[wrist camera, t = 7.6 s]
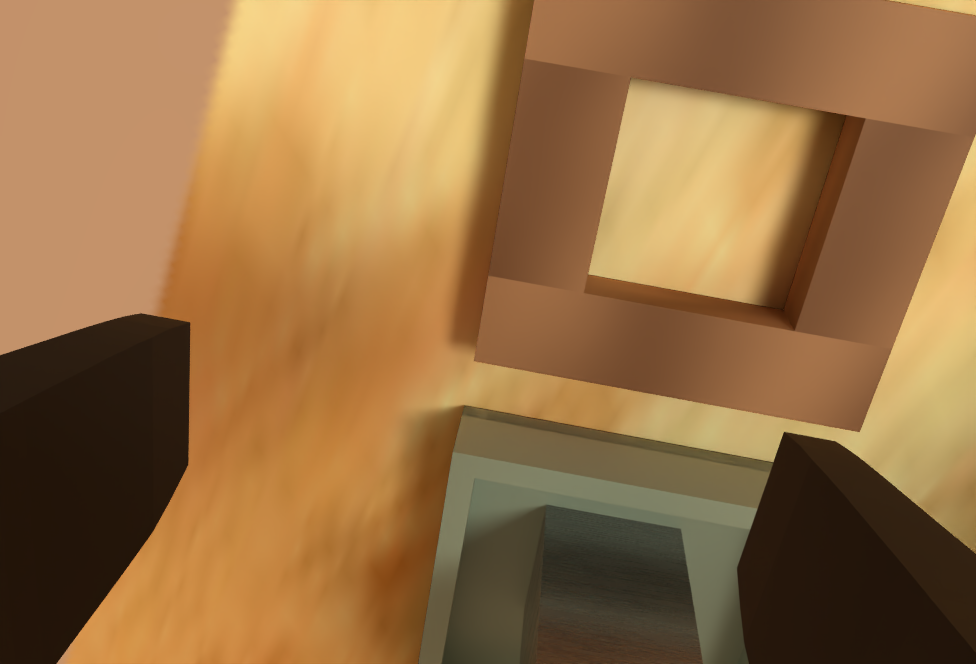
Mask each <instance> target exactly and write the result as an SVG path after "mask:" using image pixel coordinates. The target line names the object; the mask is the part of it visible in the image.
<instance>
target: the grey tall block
mask: <svg viewBox="0 0 976 664" xmlns="http://www.w3.org/2000/svg"><path fill="white" fill-rule="evenodd" d="M519 664H703V660H702V654H701V648H700V641H699V635H698V629H697V623H696V617H695V611H694V605H693V599H692V593H691V587H690V581H689V575H688V569H687V563H686V556H685V550H684V544H683V538H682V532H681V529H679V528H674V527H668V526H662V525H657V524H651V523H646V522H640V521H635V520H629V519H624V518H618V517H613V516H607V515H602V514H596V513H590V512H585V511H579V510H574V509H568V508H563V507H557V506H552V505H546V509H545V513H544V518H543V523H542V527H541V532H540V537H539V541H538V546H537V551H536V556H535V560H534V565H533V570H532V574H531V579H530V584H529V589H528V593H527V598H526V603H525V607H524V617H523V629H522V640H521V652H520V663H519Z"/></svg>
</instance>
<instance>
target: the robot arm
mask: <svg viewBox="0 0 976 664" xmlns="http://www.w3.org/2000/svg"><path fill="white" fill-rule="evenodd" d="M189 375H190V322H185V321H179V320H174V319H169V318H163V317H158V316H152V315H147V314H142V313H141V314H135V315H130V316H125V317H121V318H117V319H114V320H110V321H106V322H103V323H99V324H96V325H93V326H89V327H86V328H83V329H80V330H77V331H74V332H70V333H68V334H64V335H61V336H58V337H55V338H52V339H49V340H46V341H43V342H40V343H37V344H34V345H31V346H27V347H24V348H21V349H19V350H15V351H13V352H9V353H6V354H3V355H0V664H56V663H57V662H58V661H59V659H60V658H61V657H62V655H63V654H64V653H65V651H66V650H67V649H68V647H69V646H70V644H71V643H72V642H73V640H74V639H75V638H76V636H77V635H78V634H79V632H80V631H81V630H82V628H83V627H84V625H85V624H86V623H87V621H88V620H89V619H90V617H91V616H92V615H93V613H94V612H95V611H96V609H97V608H98V607H99V605H100V604H101V602H102V601H103V600H104V598H105V597H106V596H107V594H108V593H109V592H110V590H111V589H112V588H113V586H114V585H115V584H116V582H117V581H118V579H119V578H120V577H121V575H122V574H123V573H124V571H125V570H126V568H127V567H128V566H129V564H130V563H131V561H132V560H133V559H134V557H135V556H136V555H137V553H138V552H139V550H140V549H141V548H142V546H143V545H144V543H145V542H146V541H147V539H148V538H149V536H150V535H151V533H152V532H153V531H154V529H155V527H156V525H157V523H158V522H159V520H160V518H161V516H162V514H163V512H164V511H165V509H166V507H167V505H168V503H169V502H170V500H171V498H172V496H173V494H174V492H175V490H176V488H177V486H178V484H179V482H180V480H181V478H182V476H183V474H184V472H185V470H186V468H187V466H188V449H189ZM737 576H738V588H739V600H740V611H741V620H742V629H743V637H744V645H745V649H746V653H747V658H748V662H749V664H976V554H975V553H974V552H973V551H972V550H970V549H969V548H968V547H967V546H966V545H964V544H963V543H962V542H961V541H959V540H958V539H957V538H956V537H954V536H953V535H952V534H951V533H950V532H948V531H947V530H946V529H945V528H944V527H942V526H941V525H940V524H939V523H938V522H936V521H935V520H934V519H933V518H932V517H930V516H929V515H928V514H927V513H926V512H924V511H923V510H922V509H921V508H920V507H918V506H917V505H916V504H915V503H914V502H912V501H911V500H910V499H909V498H908V497H906V496H905V495H904V494H903V493H902V492H901V491H899V490H898V489H897V488H896V487H895V486H893V485H892V484H891V483H890V482H889V481H887V480H886V479H885V478H884V477H883V476H881V475H880V474H879V473H878V472H876V471H875V470H874V469H873V468H871V467H870V466H869V465H868V464H867V463H865V462H864V461H863V460H861V459H860V458H859V457H858V456H856V455H855V454H854V453H852V452H851V451H849V450H848V449H847V448H845V447H843V446H842V445H840V444H839V443H837V442H836V441H830V440H825V439H820V438H814V437H809V436H803V435H798V434H792V433H787V432H784V434H783V437H782V439H781V442H780V445H779V448H778V451H777V454H776V457H775V460H774V462H773V465H772V468H771V471H770V474H769V477H768V480H767V483H766V486H765V488H764V491H763V494H762V497H761V500H760V503H759V506H758V509H757V511H756V514H755V517H754V520H753V523H752V526H751V529H750V532H749V534H748V537H747V540H746V543H745V546H744V549H743V552H742V555H741V558H740V560H739V563H738V566H737Z"/></svg>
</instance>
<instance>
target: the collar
mask: <svg viewBox="0 0 976 664" xmlns="http://www.w3.org/2000/svg"><path fill="white" fill-rule="evenodd" d="M631 77H633V78H638V79H644V80H650V81H655V82H661V83H667V84H672V85H678V86H684V87H690V88H695V89H701V90H707V91H712V92H718V93H724V94H729V95H735V96H741V97H747V98H752V99H758V100H764V101H769V102H775V103H781V104H786V105H792V106H798V107H804V108H809V109H815V110H821V111H826V112H832V113H838V114H844V115H847V116H846V119H845V122H844V125H843V128H842V131H841V134H840V138H839V141H838V144H837V147H836V150H835V153H834V156H833V159H832V162H831V165H830V168H829V171H828V174H827V178H826V181H825V184H824V187H823V190H822V193H821V196H820V199H819V202H818V205H817V208H816V211H815V215H814V218H813V221H812V224H811V227H810V230H809V233H808V236H807V239H806V242H805V245H804V248H803V251H802V255H801V258H800V261H799V264H798V267H797V270H796V273H795V276H794V279H793V282H792V285H791V288H790V292H789V295H788V298H787V301H786V304H785V307H784V310H780V309H774V308H769V307H763V306H757V305H752V304H746V303H741V302H735V301H730V300H724V299H719V298H713V297H708V296H702V295H697V294H691V293H686V292H680V291H675V290H669V289H664V288H658V287H653V286H647V285H641V284H636V283H630V282H625V281H619V280H614V279H608V278H603V277H597V276H592V275H588V272H589V267H590V263H591V258H592V253H593V249H594V244H595V240H596V235H597V230H598V226H599V221H600V217H601V212H602V208H603V203H604V198H605V194H606V189H607V185H608V180H609V175H610V171H611V166H612V162H613V157H614V152H615V148H616V143H617V139H618V134H619V130H620V125H621V120H622V116H623V111H624V107H625V102H626V97H627V93H628V88H629V84H630V79H631ZM975 134H976V15H970V14H964V13H959V12H953V11H947V10H941V9H935V8H930V7H924V6H918V5H912V4H906V3H901V2H895V1H889V0H534V4H533V10H532V16H531V22H530V28H529V34H528V40H527V46H526V52H525V58H524V64H523V70H522V76H521V82H520V88H519V94H518V100H517V106H516V112H515V118H514V124H513V130H512V136H511V142H510V148H509V154H508V160H507V166H506V172H505V178H504V184H503V190H502V196H501V202H500V208H499V214H498V220H497V226H496V232H495V238H494V244H493V250H492V256H491V262H490V268H489V274H488V280H487V286H486V292H485V298H484V304H483V310H482V316H481V322H480V328H479V334H478V340H477V346H476V352H475V358H474V361H476V362H482V363H487V364H492V365H498V366H503V367H509V368H514V369H520V370H525V371H530V372H536V373H541V374H547V375H552V376H558V377H563V378H569V379H574V380H579V381H585V382H590V383H596V384H601V385H607V386H612V387H617V388H623V389H628V390H634V391H639V392H645V393H650V394H656V395H661V396H666V397H672V398H677V399H683V400H688V401H694V402H699V403H704V404H710V405H715V406H721V407H726V408H732V409H737V410H742V411H748V412H753V413H759V414H764V415H770V416H775V417H781V418H786V419H791V420H797V421H802V422H808V423H813V424H819V425H824V426H829V427H835V428H840V429H846V430H851V431H857V432H860V430H861V427H862V425H863V422H864V419H865V417H866V414H867V412H868V409H869V407H870V404H871V401H872V399H873V396H874V394H875V391H876V389H877V386H878V383H879V381H880V378H881V376H882V373H883V371H884V368H885V365H886V363H887V360H888V358H889V355H890V353H891V350H892V348H893V345H894V342H895V340H896V337H897V335H898V332H899V330H900V327H901V324H902V322H903V319H904V317H905V314H906V312H907V309H908V306H909V304H910V301H911V299H912V296H913V294H914V291H915V288H916V286H917V283H918V281H919V278H920V276H921V273H922V270H923V268H924V265H925V263H926V260H927V258H928V255H929V253H930V250H931V247H932V245H933V242H934V240H935V237H936V235H937V232H938V229H939V227H940V224H941V222H942V219H943V217H944V214H945V211H946V209H947V206H948V204H949V201H950V199H951V196H952V193H953V191H954V188H955V186H956V183H957V181H958V178H959V175H960V173H961V170H962V168H963V165H964V163H965V160H966V158H967V155H968V152H969V150H970V147H971V145H972V142H973V140H974V137H975Z"/></svg>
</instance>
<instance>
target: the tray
mask: <svg viewBox="0 0 976 664" xmlns="http://www.w3.org/2000/svg"><path fill="white" fill-rule="evenodd" d="M772 465H773V463H771V462H766V461H760V460H755V459H750V458H744V457H739V456H733V455H728V454H723V453H717V452H712V451H706V450H701V449H696V448H690V447H685V446H679V445H674V444H669V443H663V442H658V441H653V440H647V439H642V438H636V437H631V436H626V435H620V434H615V433H609V432H604V431H599V430H593V429H588V428H582V427H577V426H572V425H566V424H561V423H555V422H550V421H545V420H539V419H534V418H528V417H523V416H518V415H512V414H507V413H501V412H496V411H491V410H485V409H480V408H474V407H469V406H464V409H463V413H462V417H461V421H460V425H459V429H458V433H457V437H456V441H455V445H454V449H453V454H452V460H451V466H450V472H449V478H448V484H447V490H446V497H445V503H444V509H443V515H442V521H441V527H440V533H439V539H438V545H437V552H436V558H435V564H434V570H433V576H432V582H431V588H430V594H429V601H428V607H427V613H426V619H425V625H424V631H423V637H422V643H421V650H420V656H419V662H418V664H519V663H520V652H521V640H522V629H523V617H524V607H525V603H526V598H527V593H528V589H529V584H530V579H531V574H532V570H533V565H534V560H535V556H536V551H537V546H538V541H539V537H540V532H541V527H542V523H543V518H544V513H545V509H546V505H552V506H557V507H563V508H568V509H574V510H579V511H585V512H590V513H596V514H602V515H607V516H613V517H618V518H624V519H629V520H635V521H640V522H646V523H651V524H657V525H662V526H668V527H674V528H679V529H681V532H682V538H683V544H684V550H685V556H686V563H687V569H688V575H689V581H690V587H691V593H692V599H693V605H694V611H695V617H696V623H697V629H698V635H699V641H700V648H701V654H702V660H703V664H749V662H748V658H747V653H746V649H745V645H744V637H743V629H742V620H741V611H740V600H739V588H738V576H737V566H738V563H739V560H740V558H741V555H742V552H743V549H744V546H745V543H746V540H747V537H748V534H749V532H750V529H751V526H752V523H753V520H754V517H755V514H756V511H757V509H758V506H759V503H760V500H761V497H762V494H763V491H764V488H765V486H766V483H767V480H768V477H769V474H770V471H771V468H772Z"/></svg>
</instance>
